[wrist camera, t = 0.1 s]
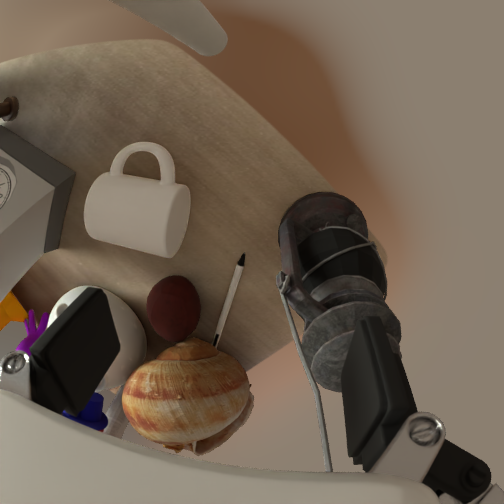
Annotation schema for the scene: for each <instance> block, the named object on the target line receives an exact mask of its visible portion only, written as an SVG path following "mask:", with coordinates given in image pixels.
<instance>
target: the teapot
mask: <svg viewBox="0 0 504 504" xmlns="http://www.w3.org/2000/svg"><path fill="white" fill-rule="evenodd" d="M87 287H95V286H80V287H77V288H74V289H72V290H70V291H69V292H67V293H66V294H64V295H63V296H62V297H61V298H60V299H59V300H58V301H57V303H56V304H55V306H54V307H53V309H52V311H51V314H50V317H49V320H48V327H49V326H50V325H51V324H52V323H53V322H54V320H55V319H56V318H57V317H58V316H59V315H60V314H61V313H62V312H63V311H64V310H65V309H66V308H67V307H68V306H69V305H70V304H71V303H72V302H73V301H74V300H75V299H76V298H77V297H78V296H79V295H80V294H81V293H82V292H83V291H84V290H85V289H86V288H87ZM96 288H99V287H96ZM101 289H102V290H103V291H104V293H106V295H107V298H108V302H109V306H110V310H111V314H112V317H113V321H114V324H115V328H116V331H117V335H118V338H119V341H120V345H121V348H120V352H119V354H118V355H117V357H116V358H115V360H114V361H113V363H112V365H111V366H110V368H109V369H108V371H107V372H106V374H105V376H104V377H103V379H102V380H101V382H100V384H99V385H98V387H97V389H96V390H95V392H96V393H97V392H100V391H102V390H106V389H111V388H115V387H118V386H120V385H122V384H124V383H126V381H127V379H128V378H129V376H130V375H131V374H132V372H133V371H134V370H135V369H136V368H137V367H138V366H140V365H141V364H143V361H144V359H145V356H146V351H147V339H146V335H145V332H144V329H143V326H142V324H141V322H140V321H139V319H138V317H137V316H136V314H135V313H134V312H133V311H132V309H131V308H130V307H129V306H128V305H127V304H126V303H125V302H124V301H123V300H121V299H120V298H119V297H117V296H116V295H114V294H113V293H111V292H109V291H107V290H105V289H103V288H101ZM48 327H47V328H48Z"/></svg>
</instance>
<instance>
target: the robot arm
mask: <svg viewBox="0 0 504 504" xmlns="http://www.w3.org/2000/svg"><path fill="white" fill-rule="evenodd" d="M120 348H121V345H120V341H119V338H118V335H117V331H116V328H115V324H114V321H113V317H112V314H111V310H110V306H109V302H108V298H107V295H106V293H104V291H103V290H102V289H101V288H96V287H87V288H86V289H85V290H84V291H83V292H82V293H81V294H80V295H79V296H78V297H77V298H76V299H75V300H74V301H73V302H72V303H71V304H70V305H69V306H68V307H67V308H66V309H65V310H64V311H63V312H62V313H61V314H60V315H59V316H58V317H57V318H56V319H55V320H54V322H53V323H52V324H51V325H50V326H49V327H48V328H47V329H46V330H45V331H44V332H43V333H42V334H41V336H40V337H39V338H38V339H37V340H36V341H35V342H34V343H33V344H32V346H31V347H30V348H29V350H30V352H31V355H30V356H29V355H28V354H27V353H26V352H24V351H21V350H16V351H12V352H10V353H8V354H7V355H6V356H4V357H3V359H2V360H1V362H0V504H504V491H503V490H502V489H501V488H500V487H499V486H498V485H497V484H494V485H492V484H491V483H490V482H491V472H490V468H489V467H488V466H487V464H486V463H485V462H483V461H482V460H480V459H478V458H477V457H475V456H473V455H471V454H470V453H468V452H466V451H465V450H463V449H461V448H459V447H458V446H456V445H455V444H453V443H451V442H450V441H448V440H446V439H445V435H446V432H445V427H444V424H443V422H442V421H441V420H440V419H439V418H438V417H437V416H435V415H434V414H431V413H429V412H418V411H417V407H416V404H415V401H414V398H413V394H412V391H411V388H410V385H409V382H408V379H407V376H406V373H405V370H404V367H403V364H402V361H401V358H400V356H399V354H398V353H393V351H392V348H391V345H390V342H389V339H388V337H387V334H386V331H385V328H384V326H383V323H382V320H381V318H380V316H363V318H362V320H360V319H359V320H357V323H356V326H355V330H354V333H353V337H352V340H351V343H350V347H349V350H348V353H347V356H346V359H345V362H344V366H343V369H342V372H341V388H342V397H343V406H344V415H345V426H346V437H347V449H348V456H349V457H353V464H354V465H358V464H362V465H363V470H364V471H365V473H361V472H297V471H281V470H268V469H257V468H248V467H240V466H233V465H226V464H220V463H214V462H208V461H203V460H198V459H193V458H188V457H184V456H179V455H175V454H171V453H166V452H163V451H159V450H155V449H151V448H148V447H144V446H141V445H138V444H135V443H132V442H128V441H125V440H122V439H119V438H117V437H114V436H111V435H108V434H105V433H103V432H100V431H97V430H95V429H92V428H90V427H87V426H85V425H82V424H80V423H77V422H75V421H73V420H70V419H68V418H66V417H64V416H62V412H63V411H64V410H65V412H66V413H68V414H71V415H73V416H75V417H77V415H78V414H79V412H80V411H83V410H84V408H85V407H86V405H87V403H88V402H89V400H90V398H91V397H92V395H93V393H94V392H95V390H96V389H97V387H98V385H99V384H100V382H101V380H102V379H103V377H104V376H105V374H106V372H107V371H108V369H109V368H110V366H111V365H112V363H113V361H114V360H115V358H116V357H117V355H118V354H119V352H120Z"/></svg>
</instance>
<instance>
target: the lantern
mask: <svg viewBox="0 0 504 504" xmlns="http://www.w3.org/2000/svg"><path fill="white" fill-rule="evenodd" d="M278 243H279V246H280V250H281V263H282V271H280V272H279V273H278V274H277V276H276V286H277V287H278V289H279V292H280V295H281V299H282V302H283V305H284V308H285V312H286V315H287V318H288V321H289V325H290V328H291V331H292V334H293V338H294V341H295V344H296V347H297V351H298V354H299V357H300V359H301V361H302V364H303V367H304V369H305V372H306V374H307V377H308V380H309V382H310V384H311V387H312V390H313V392H314V396H315V402H316V409H317V415H318V421H319V428H320V434H321V441H322V448H323V455H324V462H325V469H326V472H333V469H332V463H331V456H330V450H329V443H328V438H327V431H326V425H325V419H324V413H323V408H322V402H321V396H320V391H319V389H318V386H317V384H316V382H317V383H318V384H320V385H321V386H322V387H323V388H325V389H328V390H332V391H335V392H342V388H341V372H342V369H343V366H344V362H345V359H346V356H347V353H348V350H349V347H350V343H351V340H352V337H353V333H354V330H355V326H356V323H357V320H359V319H360V320H362V318H363V316H380V318H381V320H382V323H383V326H384V328H385V331H386V334H387V337H388V339H389V342H390V345H391V348H392V351H393V353H398V354H399V356H400V358H402V355H401V352H400V346H399V342H400V340H401V327H400V322H399V320H398V319H397V317H396V316H395V315H394V313H393V312H392V311H391V310H390V309H389V307H388V305H387V304H386V303H385V299H386V296H387V279H386V274H385V269H384V265H383V262H382V260H381V258H380V256H379V254H378V251H377V249H376V245H375V243H374V242H370V241H369V240H368V229H367V223H366V220H365V218H364V216H363V214H362V211H361V210H360V209H359V208H358V207H357V206H356V205H355V203H354V202H352V201H351V200H349V199H348V198H346V197H344V196H342V195H339V194H336V193H332V192H318V193H314V194H310V195H306V196H305V197H303V198H301V199H299V200H297V201H296V202H295V203H294V204H293V205H292V206H291V207H290V208H289V209H287V211H286V213H285V214H284V216H283V218H282V219H281V223H280V226H279V230H278ZM384 292H385V294H384ZM383 296H384V298H383ZM288 303H289V305H290V306H291V307H292V308H293V310H295V311H296V313H297V314H298V315H299V316H300V317H301V318H302V319H303V320H304V322H305V326H304V334H303V338H302V344H301V342H300V339H299V336H298V333H297V330H296V327H295V324H294V321H293V318H292V315H291V312H290V309H289V306H288ZM310 368H311V369H310Z"/></svg>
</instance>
